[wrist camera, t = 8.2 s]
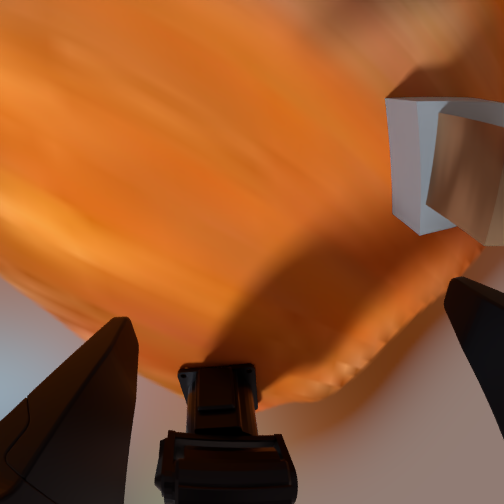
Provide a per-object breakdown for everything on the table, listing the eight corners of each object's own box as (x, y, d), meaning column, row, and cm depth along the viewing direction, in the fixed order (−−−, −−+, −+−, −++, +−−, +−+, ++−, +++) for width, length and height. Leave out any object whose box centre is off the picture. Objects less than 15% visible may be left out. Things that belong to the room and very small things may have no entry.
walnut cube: (484, 209, 17) (539, 245, 12) (425, 204, 17) (484, 245, 12) (498, 130, 15) (561, 151, 10) (438, 112, 14) (508, 128, 9)
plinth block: (470, 196, 21) (502, 214, 18) (390, 212, 21) (419, 235, 18) (469, 97, 18) (506, 103, 14) (382, 98, 18) (416, 101, 14)
